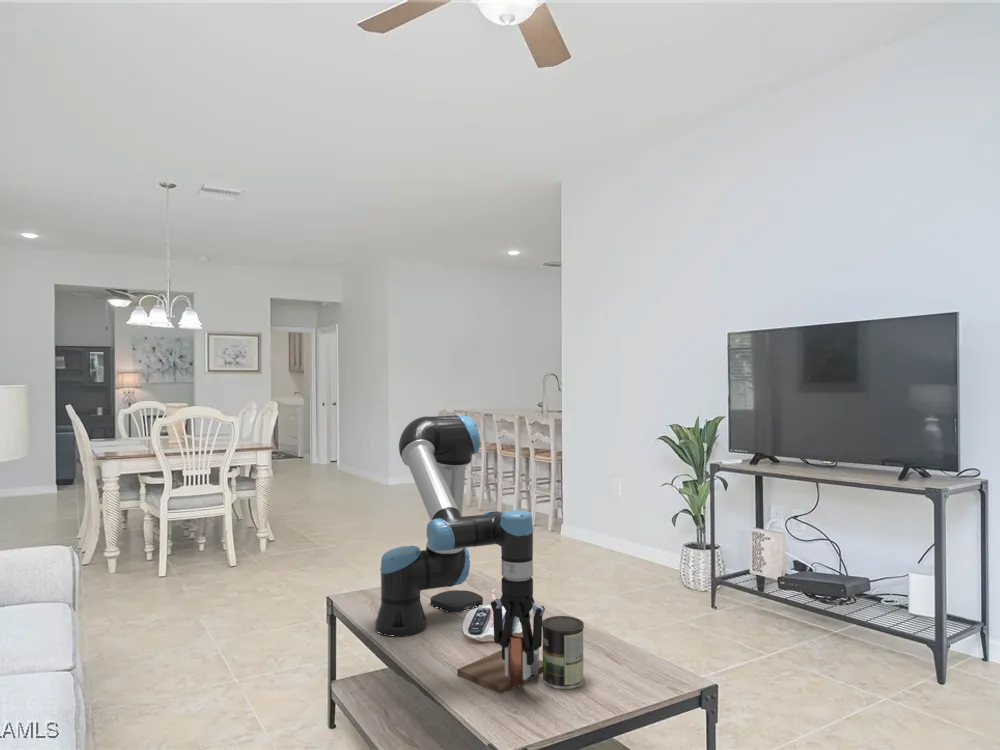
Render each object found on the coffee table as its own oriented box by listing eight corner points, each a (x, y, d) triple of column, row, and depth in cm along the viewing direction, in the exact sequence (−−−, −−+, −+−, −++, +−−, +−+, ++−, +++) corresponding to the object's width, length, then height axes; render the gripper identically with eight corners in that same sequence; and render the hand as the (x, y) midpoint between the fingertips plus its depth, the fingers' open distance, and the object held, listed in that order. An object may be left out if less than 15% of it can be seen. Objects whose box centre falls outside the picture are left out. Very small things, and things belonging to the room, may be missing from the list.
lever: (513, 654, 177) (513, 612, 177) (540, 655, 176) (540, 613, 176) (505, 685, 159) (504, 638, 159) (535, 686, 158) (535, 639, 158)
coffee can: (543, 689, 161) (542, 630, 161) (541, 671, 171) (541, 615, 171) (586, 689, 161) (585, 630, 161) (582, 671, 171) (581, 615, 171)
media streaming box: (459, 595, 234) (459, 586, 234) (487, 605, 223) (487, 596, 223) (425, 605, 224) (425, 595, 224) (453, 616, 213) (453, 606, 213)
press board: (457, 675, 169) (457, 668, 169) (505, 653, 182) (505, 647, 182) (501, 693, 159) (501, 686, 159) (548, 669, 172) (548, 662, 172)
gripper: (478, 576, 161) (478, 674, 161) (543, 585, 153) (544, 689, 153) (493, 568, 168) (493, 663, 168) (556, 577, 160) (557, 676, 160)
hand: (517, 675), depth 160 cm, fingers closed on lever, 4 cm apart
